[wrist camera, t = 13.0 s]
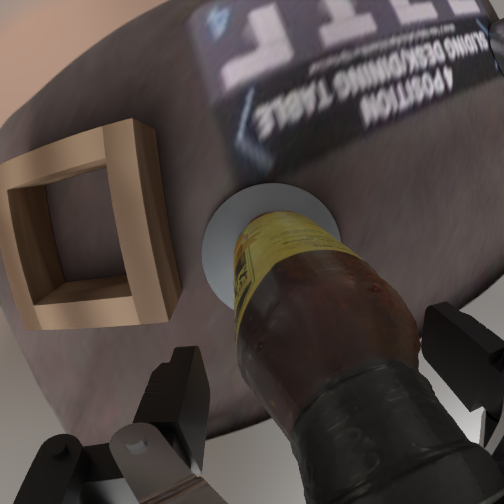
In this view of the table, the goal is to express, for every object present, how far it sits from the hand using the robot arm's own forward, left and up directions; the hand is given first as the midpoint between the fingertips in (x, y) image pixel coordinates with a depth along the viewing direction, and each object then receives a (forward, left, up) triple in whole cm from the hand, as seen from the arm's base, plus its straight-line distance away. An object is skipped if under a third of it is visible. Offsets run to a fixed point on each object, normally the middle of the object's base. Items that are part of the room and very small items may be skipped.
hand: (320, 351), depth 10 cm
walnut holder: (+13, -4, -13) cm, 19 cm away
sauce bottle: (0, 0, -13) cm, 13 cm away
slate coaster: (0, 0, -13) cm, 13 cm away
